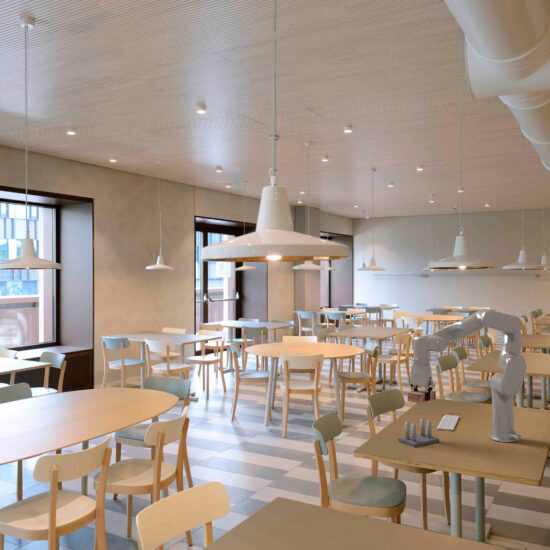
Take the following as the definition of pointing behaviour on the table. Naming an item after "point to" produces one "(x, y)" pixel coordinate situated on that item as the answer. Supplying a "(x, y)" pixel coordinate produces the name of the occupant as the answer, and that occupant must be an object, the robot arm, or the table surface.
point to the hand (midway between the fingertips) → (421, 398)
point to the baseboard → (448, 422)
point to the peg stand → (418, 435)
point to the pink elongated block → (420, 396)
